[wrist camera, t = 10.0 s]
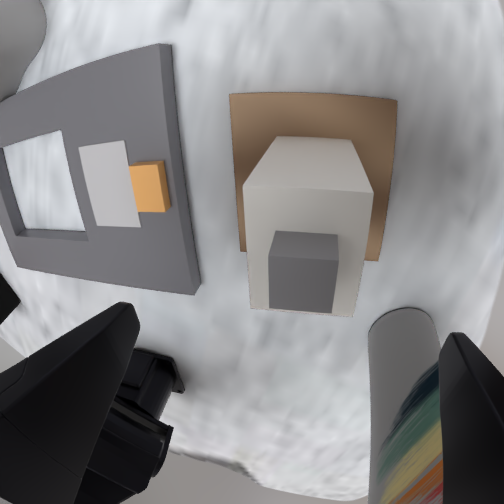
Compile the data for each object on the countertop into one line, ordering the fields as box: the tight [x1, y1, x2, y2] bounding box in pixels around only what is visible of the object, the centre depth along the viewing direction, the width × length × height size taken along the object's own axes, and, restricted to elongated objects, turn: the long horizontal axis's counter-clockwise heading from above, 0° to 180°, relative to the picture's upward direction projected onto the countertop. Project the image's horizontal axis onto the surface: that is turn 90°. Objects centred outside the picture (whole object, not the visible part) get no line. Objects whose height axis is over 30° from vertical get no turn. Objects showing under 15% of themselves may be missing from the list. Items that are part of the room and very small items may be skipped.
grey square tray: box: [0, 44, 201, 295], centre depth 20 cm, size 17×22×2 cm
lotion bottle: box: [368, 308, 443, 504], centre depth 14 cm, size 6×6×20 cm
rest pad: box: [229, 92, 397, 261], centre depth 17 cm, size 10×9×1 cm
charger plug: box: [243, 136, 374, 317], centre depth 13 cm, size 5×4×10 cm
